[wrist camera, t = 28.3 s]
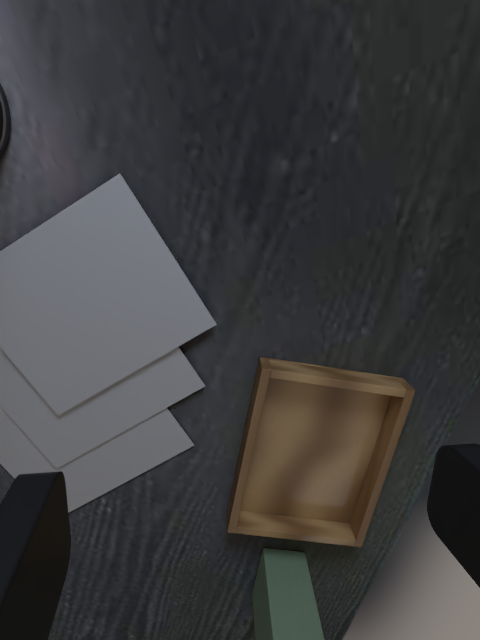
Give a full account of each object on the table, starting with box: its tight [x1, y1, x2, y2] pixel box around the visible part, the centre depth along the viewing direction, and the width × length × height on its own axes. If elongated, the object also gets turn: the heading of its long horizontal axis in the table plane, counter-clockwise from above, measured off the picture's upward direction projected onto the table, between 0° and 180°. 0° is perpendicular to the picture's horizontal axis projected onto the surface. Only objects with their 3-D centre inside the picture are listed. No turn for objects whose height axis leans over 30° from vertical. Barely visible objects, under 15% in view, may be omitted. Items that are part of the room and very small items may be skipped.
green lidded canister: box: [252, 548, 324, 640], centre depth 38 cm, size 5×7×12 cm
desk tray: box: [227, 357, 415, 547], centre depth 38 cm, size 14×18×2 cm
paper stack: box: [0, 174, 217, 513], centre depth 35 cm, size 23×25×1 cm
